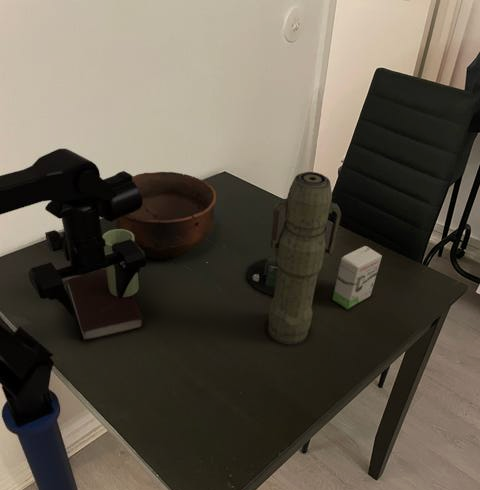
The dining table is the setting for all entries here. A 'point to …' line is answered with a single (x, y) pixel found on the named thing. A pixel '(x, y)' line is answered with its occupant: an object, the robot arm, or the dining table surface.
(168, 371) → the dining table surface
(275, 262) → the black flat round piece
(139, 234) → the bowl
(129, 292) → the pencil cup
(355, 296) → the ink box
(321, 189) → the thermos
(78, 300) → the book
